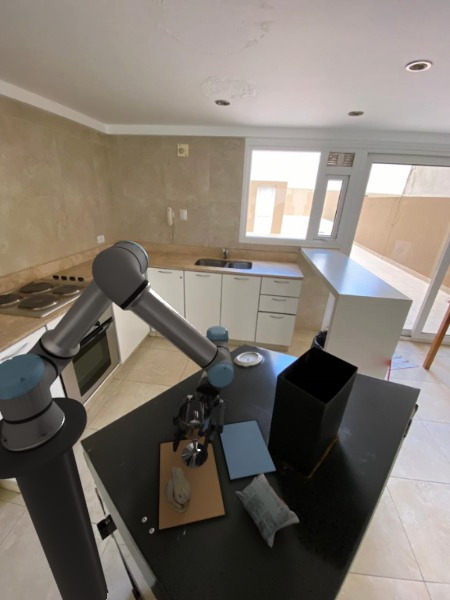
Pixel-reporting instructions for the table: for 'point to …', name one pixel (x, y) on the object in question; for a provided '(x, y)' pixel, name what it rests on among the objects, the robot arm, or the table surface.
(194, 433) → the wine glass
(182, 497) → the grey stone figurine
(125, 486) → the table surface
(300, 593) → the table surface
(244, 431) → the mat blue
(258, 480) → the packaged food
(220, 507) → the mat brown
